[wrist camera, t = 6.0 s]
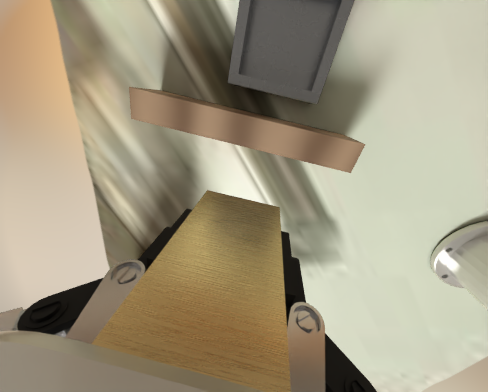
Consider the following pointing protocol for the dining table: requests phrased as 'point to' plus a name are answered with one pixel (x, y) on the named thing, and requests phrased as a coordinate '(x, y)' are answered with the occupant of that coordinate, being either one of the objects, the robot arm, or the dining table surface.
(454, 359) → the dining table surface
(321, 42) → the grey square tray
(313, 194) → the dining table surface
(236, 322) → the block
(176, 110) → the brown plank
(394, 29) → the dining table surface
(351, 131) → the dining table surface
